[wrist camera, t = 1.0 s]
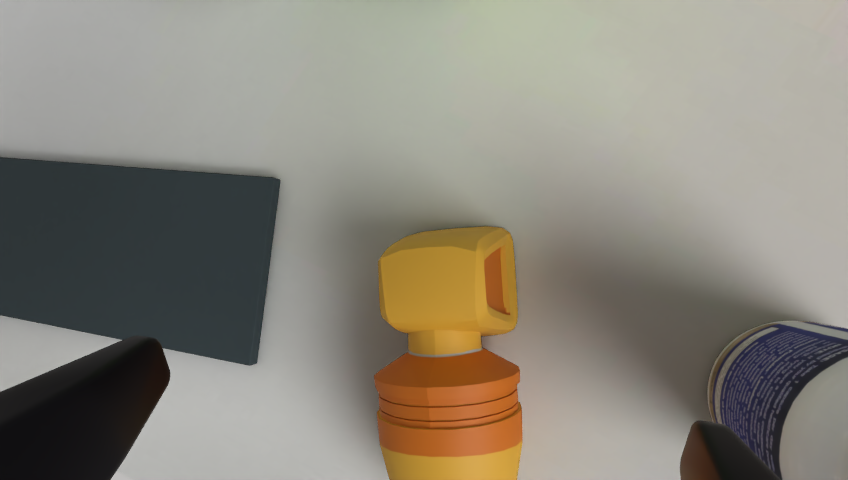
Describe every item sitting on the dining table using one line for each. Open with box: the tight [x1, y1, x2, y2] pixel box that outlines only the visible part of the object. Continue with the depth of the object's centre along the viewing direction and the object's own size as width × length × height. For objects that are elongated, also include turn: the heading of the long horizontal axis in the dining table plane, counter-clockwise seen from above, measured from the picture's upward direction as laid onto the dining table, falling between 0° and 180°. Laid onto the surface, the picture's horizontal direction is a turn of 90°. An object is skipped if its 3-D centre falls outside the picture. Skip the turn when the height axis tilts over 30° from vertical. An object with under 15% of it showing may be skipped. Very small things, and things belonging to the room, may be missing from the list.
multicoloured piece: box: [374, 226, 522, 480], centre depth 19 cm, size 5×6×12 cm
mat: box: [0, 157, 280, 365], centre depth 27 cm, size 9×22×1 cm, turn 83°
